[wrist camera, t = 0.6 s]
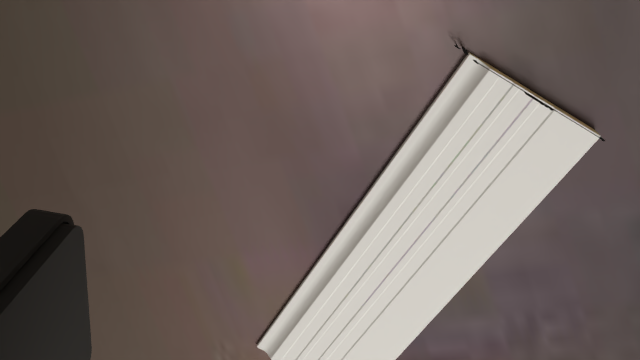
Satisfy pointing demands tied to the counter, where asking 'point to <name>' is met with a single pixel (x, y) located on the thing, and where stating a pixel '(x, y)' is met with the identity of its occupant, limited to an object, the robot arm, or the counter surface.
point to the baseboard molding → (431, 218)
